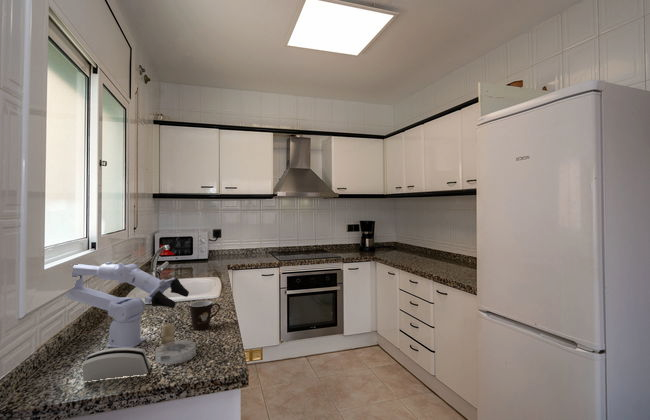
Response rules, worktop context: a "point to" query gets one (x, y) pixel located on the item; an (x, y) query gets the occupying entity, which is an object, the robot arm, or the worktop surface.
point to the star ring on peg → (175, 352)
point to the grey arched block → (115, 363)
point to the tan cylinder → (167, 333)
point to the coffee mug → (201, 314)
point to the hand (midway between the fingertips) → (181, 299)
